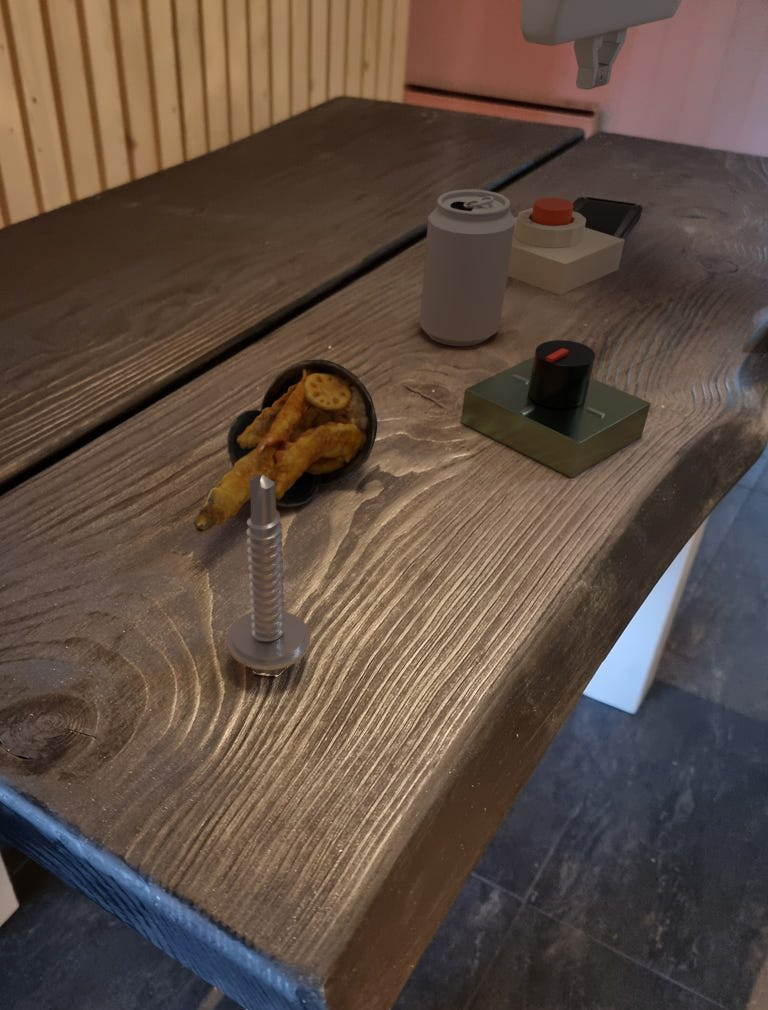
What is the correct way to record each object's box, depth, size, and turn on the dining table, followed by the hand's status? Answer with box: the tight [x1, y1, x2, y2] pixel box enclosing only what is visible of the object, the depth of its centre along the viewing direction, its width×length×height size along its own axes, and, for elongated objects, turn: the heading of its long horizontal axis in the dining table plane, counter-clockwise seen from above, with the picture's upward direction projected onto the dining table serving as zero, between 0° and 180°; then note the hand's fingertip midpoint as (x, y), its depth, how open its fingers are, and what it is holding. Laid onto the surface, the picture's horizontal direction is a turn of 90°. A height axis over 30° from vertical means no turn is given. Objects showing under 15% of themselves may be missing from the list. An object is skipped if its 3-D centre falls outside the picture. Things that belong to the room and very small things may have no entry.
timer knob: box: [528, 339, 596, 409], centre depth 71 cm, size 4×4×4 cm
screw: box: [225, 474, 311, 675], centre depth 50 cm, size 13×5×5 cm
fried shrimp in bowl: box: [193, 359, 378, 536], centre depth 64 cm, size 9×11×18 cm
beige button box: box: [507, 207, 626, 296], centre depth 97 cm, size 12×10×5 cm
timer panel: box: [460, 356, 652, 479], centre depth 73 cm, size 11×9×3 cm
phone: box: [572, 196, 643, 241], centre depth 106 cm, size 8×1×15 cm
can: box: [419, 189, 515, 347], centre depth 83 cm, size 8×8×12 cm
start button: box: [531, 197, 574, 226], centre depth 95 cm, size 4×4×2 cm
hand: (591, 86), depth 89 cm, fingers closed
